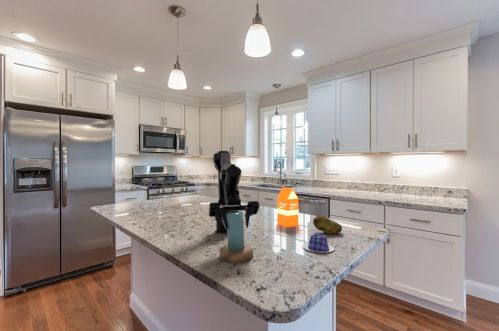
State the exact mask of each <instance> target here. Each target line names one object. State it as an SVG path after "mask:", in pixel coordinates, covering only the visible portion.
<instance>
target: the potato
mask: <svg viewBox="0 0 499 331" xmlns="http://www.w3.org/2000/svg"><path fill="white" fill-rule="evenodd" d="M312 222H313V225H314V227H315V228H316V230H318V231H321V232H323V233H325V234H326V235H336V234H337V235H338V234H340V233H341V232H342V229H343V227H342V225H341V224H340V223H338V222H336V221H334V220H332V219H330V218H329V217H326V216H323V215H317V216H315V217H314V218H313V220H312Z"/></svg>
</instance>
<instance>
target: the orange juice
mask: <svg viewBox="0 0 499 331" xmlns="http://www.w3.org/2000/svg"><path fill="white" fill-rule="evenodd" d="M276 198H277V199H276V200H277V201H276V202H277V203H276V204H277V205H276V206H277V208H276V210H277V212H276V214H277V218H276V219H277V220H276V222H277V223H278V224H277V225H279V226H282V227H283V226H284V227H286V228H291V227H296V226H299V211H300V210H299V197H298V195H297V193H296V192H295V190H294V188H291V187H286V186H285V187H282V188H281V190H280V192H279V194H278V195H277V197H276Z"/></svg>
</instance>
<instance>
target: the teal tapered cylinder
mask: <svg viewBox="0 0 499 331" xmlns="http://www.w3.org/2000/svg"><path fill="white" fill-rule="evenodd" d="M226 219H227V233H226V235H227V236H226V237H227V245H228V251H231V252H239V251H243V250H244V249H245V246H244V245H245V229H244V211H243V212H242V211H238V212H228V213H226Z"/></svg>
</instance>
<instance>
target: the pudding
mask: <svg viewBox="0 0 499 331" xmlns="http://www.w3.org/2000/svg"><path fill="white" fill-rule="evenodd" d="M302 248H303V249H304V250H307V251H310V252H313V253H320V254H322V253H323V254H324V253H331V252H333V251H335V247H334V246H333V245H331V244H329V243H328V240H327V236H326V235H324V234H321V233H315V234H314V233H313V234H311V236H310V238H309V242H306V243H304V244H303V245H302Z"/></svg>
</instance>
